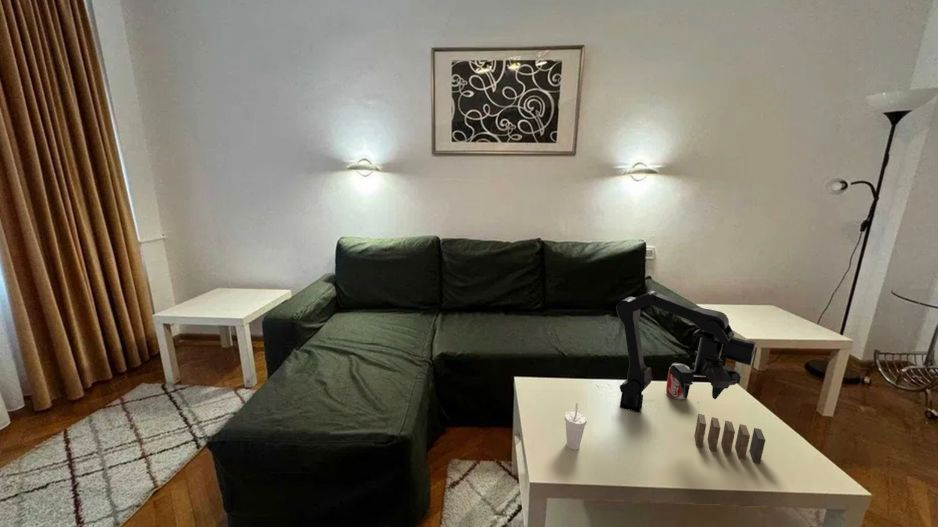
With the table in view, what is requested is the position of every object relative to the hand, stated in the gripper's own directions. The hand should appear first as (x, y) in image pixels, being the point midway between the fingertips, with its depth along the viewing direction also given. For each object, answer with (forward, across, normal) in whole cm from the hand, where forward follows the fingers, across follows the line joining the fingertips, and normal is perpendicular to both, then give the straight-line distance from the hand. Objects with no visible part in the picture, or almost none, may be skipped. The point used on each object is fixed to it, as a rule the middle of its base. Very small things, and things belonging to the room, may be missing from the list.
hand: (699, 398), depth 112 cm
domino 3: (+12, +6, -7) cm, 15 cm away
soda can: (+13, +7, +20) cm, 25 cm away
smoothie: (+13, -40, -6) cm, 43 cm away
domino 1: (+12, -1, -4) cm, 13 cm away
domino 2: (+12, +2, -6) cm, 14 cm away
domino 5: (+12, +12, -11) cm, 20 cm away
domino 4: (+12, +8, -9) cm, 17 cm away
